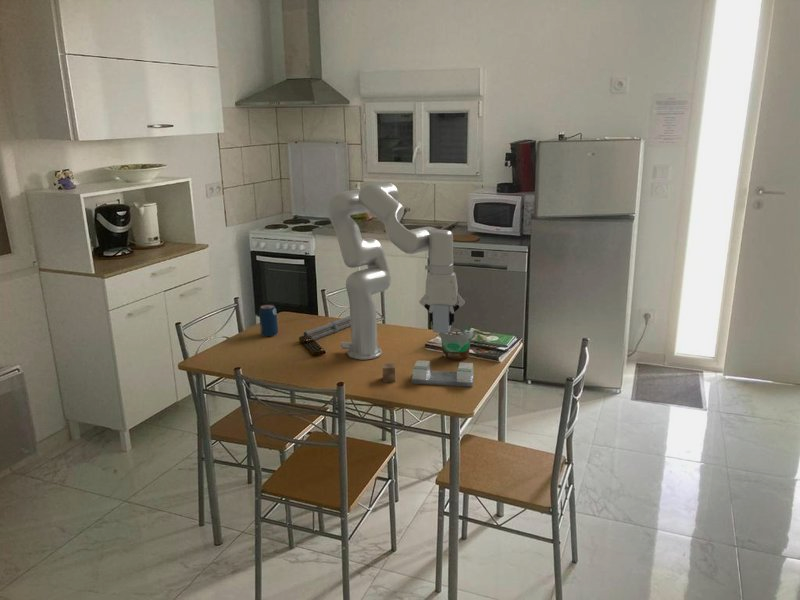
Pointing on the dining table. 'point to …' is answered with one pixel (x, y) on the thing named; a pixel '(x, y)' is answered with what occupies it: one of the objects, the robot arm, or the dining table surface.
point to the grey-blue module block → (441, 318)
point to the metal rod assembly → (332, 325)
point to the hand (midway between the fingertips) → (442, 323)
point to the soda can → (268, 320)
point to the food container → (456, 345)
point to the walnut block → (388, 372)
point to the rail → (443, 375)
